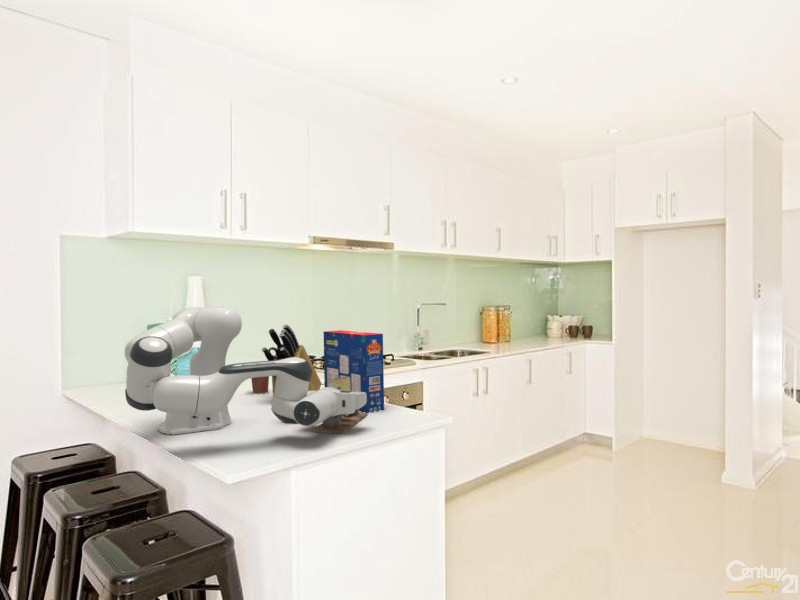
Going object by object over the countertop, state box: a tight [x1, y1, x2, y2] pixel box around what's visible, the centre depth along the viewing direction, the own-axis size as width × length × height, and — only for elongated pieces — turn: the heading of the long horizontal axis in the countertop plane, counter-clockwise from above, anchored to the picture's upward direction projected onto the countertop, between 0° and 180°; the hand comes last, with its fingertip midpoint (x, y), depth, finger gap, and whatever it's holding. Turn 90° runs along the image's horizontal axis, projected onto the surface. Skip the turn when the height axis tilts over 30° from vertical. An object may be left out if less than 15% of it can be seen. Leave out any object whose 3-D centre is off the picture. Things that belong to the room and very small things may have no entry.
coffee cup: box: [250, 376, 270, 395], centre depth 235 cm, size 9×9×12 cm
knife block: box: [261, 324, 322, 395], centre depth 226 cm, size 11×35×31 cm, turn 166°
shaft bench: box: [313, 409, 369, 434], centre depth 178 cm, size 24×10×4 cm, turn 166°
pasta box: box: [323, 329, 385, 414], centre depth 206 cm, size 28×8×28 cm, turn 39°
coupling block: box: [333, 377, 351, 416], centre depth 178 cm, size 5×4×12 cm
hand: (342, 393), depth 179 cm, fingers closed on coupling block, 4 cm apart
